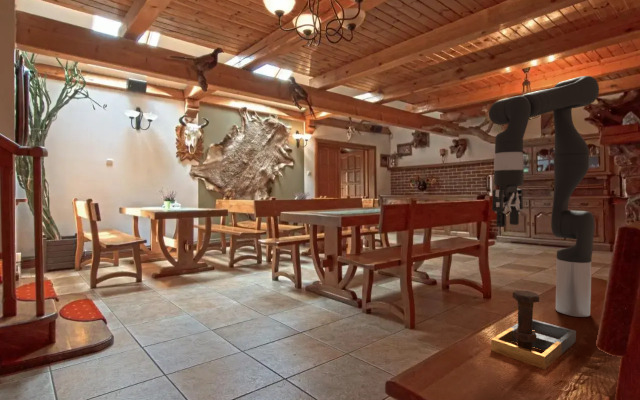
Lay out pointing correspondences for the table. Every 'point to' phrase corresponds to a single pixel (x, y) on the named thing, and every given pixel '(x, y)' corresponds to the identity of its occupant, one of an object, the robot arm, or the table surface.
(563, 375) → the table surface
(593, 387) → the table surface
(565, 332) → the tray
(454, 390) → the table surface
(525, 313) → the bolt
